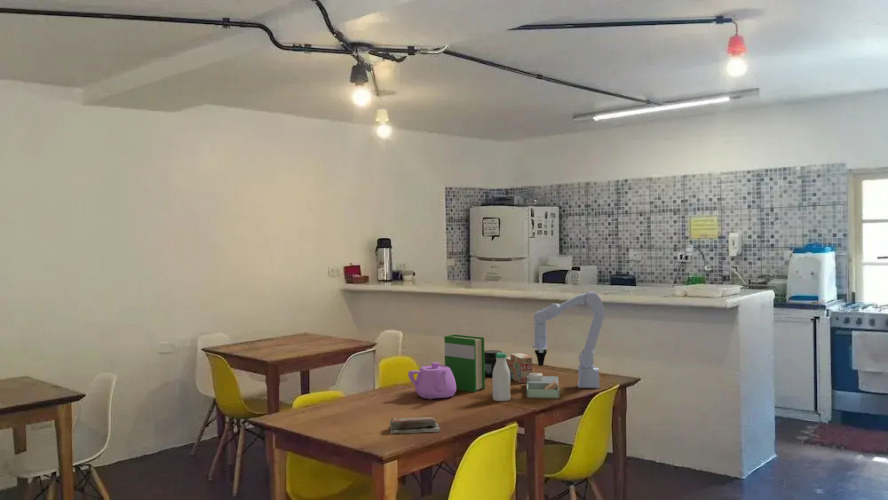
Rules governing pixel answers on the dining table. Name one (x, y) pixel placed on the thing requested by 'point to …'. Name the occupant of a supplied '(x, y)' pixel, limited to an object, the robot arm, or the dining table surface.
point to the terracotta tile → (551, 386)
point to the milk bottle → (501, 379)
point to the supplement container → (490, 361)
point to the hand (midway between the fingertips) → (540, 365)
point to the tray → (542, 393)
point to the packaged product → (414, 425)
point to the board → (541, 382)
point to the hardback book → (466, 361)
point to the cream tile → (535, 376)
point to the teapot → (434, 381)
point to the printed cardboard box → (519, 366)
